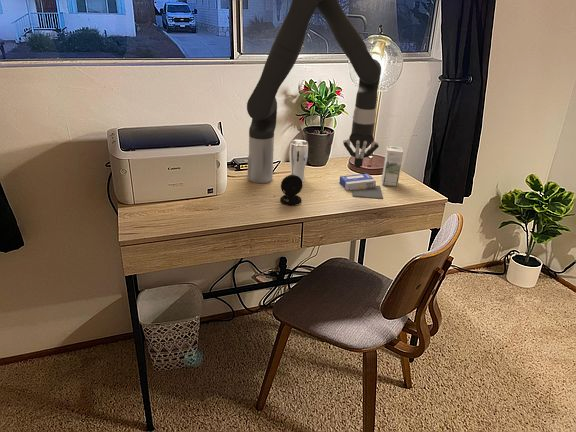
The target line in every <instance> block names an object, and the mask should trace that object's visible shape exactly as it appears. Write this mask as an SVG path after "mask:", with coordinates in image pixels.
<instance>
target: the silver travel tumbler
mask: <svg viewBox="0 0 576 432" xmlns="http://www.w3.org/2000/svg"><path fill="white" fill-rule="evenodd" d="M308 155H309V143H308V141H306V140H303V139H294V140H290V146H289V165H290V173H289V175H296V176H298V177H300V178H301V180H302V183H304V182H305V180H306V179H305V178H306V177H305V169H306V166H307V161H308V158H309V157H308Z"/></svg>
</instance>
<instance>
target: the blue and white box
mask: <svg viewBox="0 0 576 432" xmlns="http://www.w3.org/2000/svg"><path fill="white" fill-rule="evenodd" d="M338 183H339V184H340V185H341V186H342V187H343V188H344V189H345V190H346V191H347V192H348V191H352V190H355V189H366V188H374V187H376V186H377V184H376V183H377V180H375V178H374V177H372V176H371V175H370V174H369V173H359V174H349V175H340V176H339V182H338Z"/></svg>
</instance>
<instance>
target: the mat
mask: <svg viewBox="0 0 576 432" xmlns="http://www.w3.org/2000/svg"><path fill="white" fill-rule="evenodd" d="M351 193H352V195H351V196H352V198H353V197H354V198H365V199H366V198H367V199H378V200H381V199H382V200H383V199H384V196H383V192H382V188H381V185H376V187H374V188H366V189H355V190H351Z"/></svg>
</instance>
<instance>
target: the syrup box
mask: <svg viewBox="0 0 576 432" xmlns="http://www.w3.org/2000/svg"><path fill="white" fill-rule="evenodd" d="M403 155H404V151H403V148H402V146H391V145H387V146H386V150H385V155H384V161H383V168H382V174H381V185H382V186H385V187H386V186H387V187H398V184H399V179H400V172H401V169H402V162H403Z"/></svg>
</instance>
